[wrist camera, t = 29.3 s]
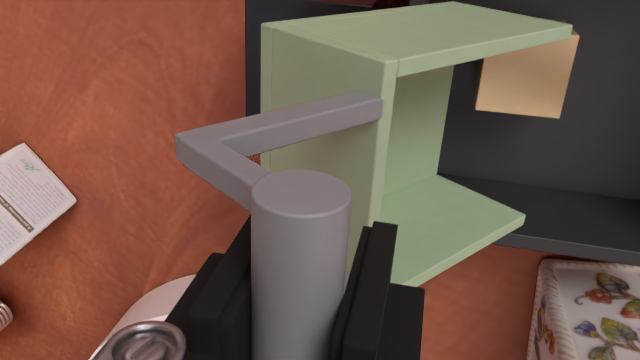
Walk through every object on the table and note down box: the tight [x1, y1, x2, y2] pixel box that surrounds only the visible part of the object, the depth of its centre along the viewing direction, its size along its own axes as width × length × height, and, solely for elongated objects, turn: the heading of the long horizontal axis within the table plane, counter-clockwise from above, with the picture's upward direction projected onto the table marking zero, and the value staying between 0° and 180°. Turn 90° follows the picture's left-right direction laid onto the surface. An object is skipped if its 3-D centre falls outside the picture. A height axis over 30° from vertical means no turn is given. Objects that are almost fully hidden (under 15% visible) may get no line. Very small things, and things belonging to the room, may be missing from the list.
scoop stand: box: [245, 0, 389, 117], centre depth 29 cm, size 6×7×8 cm
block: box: [472, 18, 580, 119], centre depth 28 cm, size 4×4×4 cm
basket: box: [408, 0, 640, 266], centre depth 28 cm, size 16×16×7 cm
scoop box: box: [175, 1, 573, 360], centre depth 17 cm, size 15×8×9 cm
